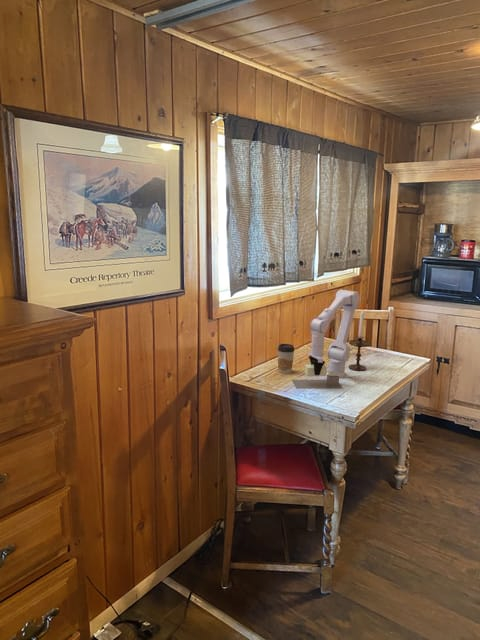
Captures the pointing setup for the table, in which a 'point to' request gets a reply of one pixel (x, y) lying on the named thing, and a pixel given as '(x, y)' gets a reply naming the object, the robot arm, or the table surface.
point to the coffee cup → (285, 358)
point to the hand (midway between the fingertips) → (315, 372)
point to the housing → (318, 383)
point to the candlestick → (359, 345)
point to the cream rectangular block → (310, 370)
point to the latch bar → (336, 373)
